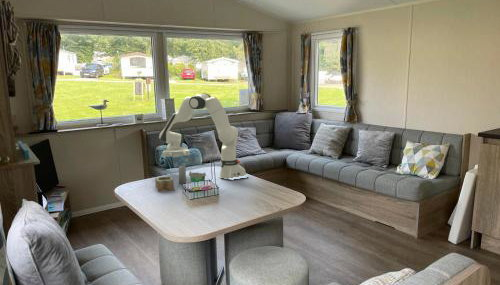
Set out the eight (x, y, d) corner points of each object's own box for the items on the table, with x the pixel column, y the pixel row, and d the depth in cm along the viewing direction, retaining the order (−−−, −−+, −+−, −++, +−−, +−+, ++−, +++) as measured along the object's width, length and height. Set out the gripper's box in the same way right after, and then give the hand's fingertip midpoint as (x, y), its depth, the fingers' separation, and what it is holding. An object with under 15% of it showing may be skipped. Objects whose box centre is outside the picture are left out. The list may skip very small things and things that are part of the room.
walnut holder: (170, 184, 263) (169, 175, 262) (173, 189, 250) (173, 180, 249) (155, 185, 259) (155, 176, 258) (158, 191, 246) (158, 182, 245)
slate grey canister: (185, 181, 269) (184, 165, 267) (186, 183, 265) (186, 167, 263) (178, 182, 268) (178, 166, 265) (179, 184, 263) (179, 168, 261)
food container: (186, 187, 257) (185, 173, 255) (190, 184, 262) (189, 171, 261) (202, 188, 253) (202, 174, 251) (205, 186, 259) (205, 172, 257)
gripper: (161, 148, 283) (164, 151, 271) (187, 146, 291) (191, 150, 278) (161, 156, 284) (164, 160, 272) (187, 154, 292) (191, 158, 279)
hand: (178, 155), depth 275 cm, fingers open, 8 cm apart
